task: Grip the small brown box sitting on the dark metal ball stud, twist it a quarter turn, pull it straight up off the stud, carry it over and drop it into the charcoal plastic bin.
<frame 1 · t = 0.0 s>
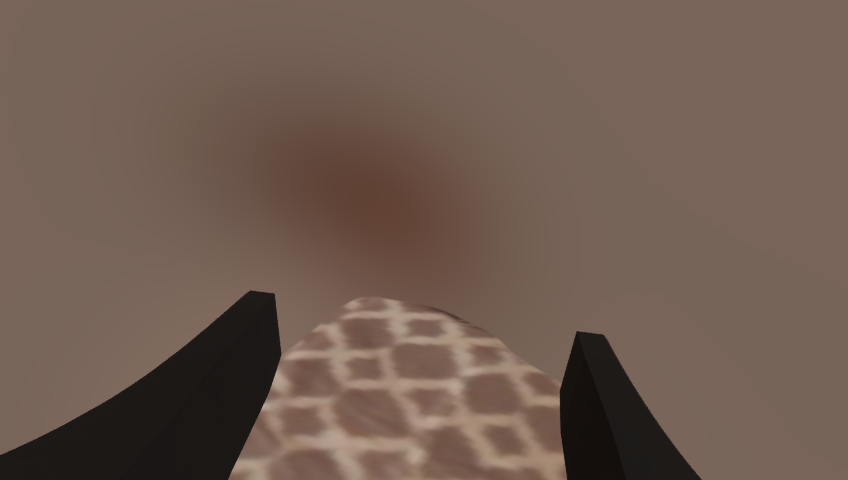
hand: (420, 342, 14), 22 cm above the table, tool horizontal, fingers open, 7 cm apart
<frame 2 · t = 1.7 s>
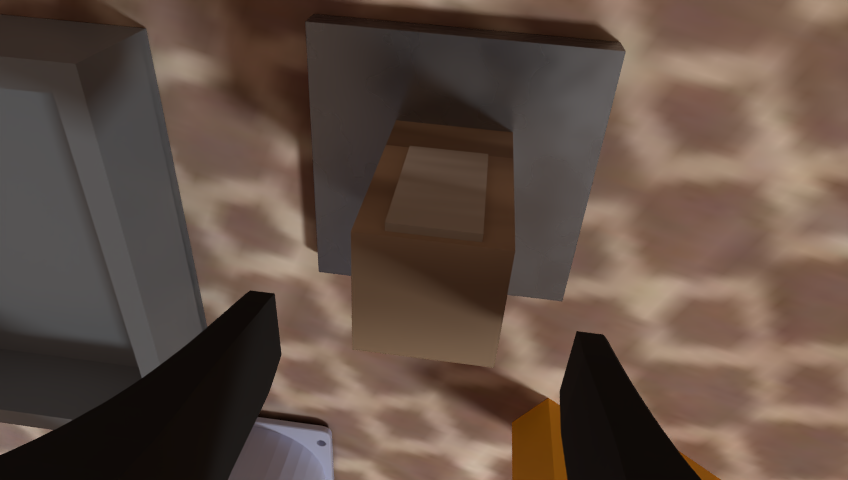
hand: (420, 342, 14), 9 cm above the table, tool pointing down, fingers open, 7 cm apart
small brown box: (449, 178, 21), point 1 cm above the table, touching stud plate
bin: (25, 221, 26), on the table
stud plate: (451, 165, 22), on the table
yellow u-shaped block: (626, 451, 30), on the table
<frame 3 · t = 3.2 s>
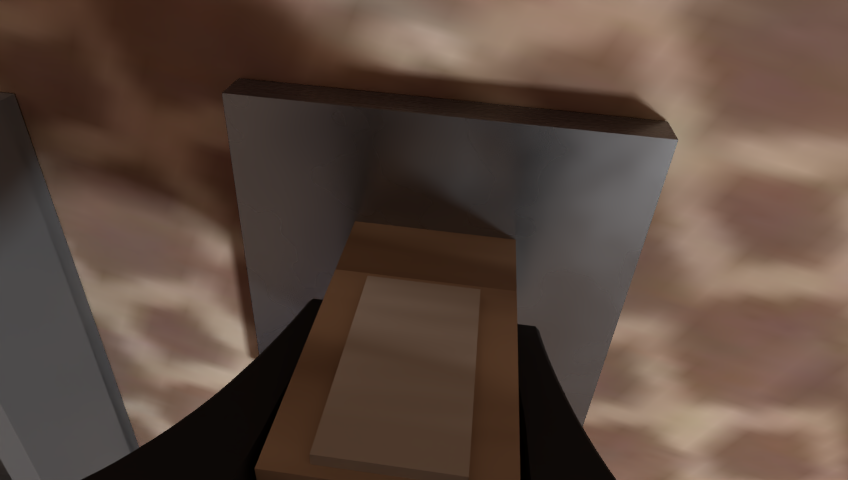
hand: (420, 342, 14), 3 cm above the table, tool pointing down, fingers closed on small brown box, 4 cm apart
small brown box: (429, 292, 16), point 1 cm above the table, touching gripper, stud plate
stud plate: (433, 270, 16), on the table
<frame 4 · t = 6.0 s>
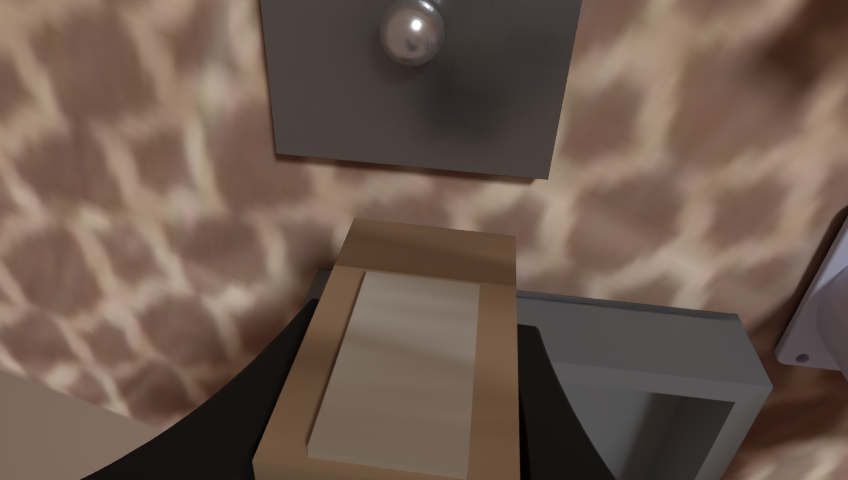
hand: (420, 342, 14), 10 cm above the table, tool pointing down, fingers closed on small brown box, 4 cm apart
small brown box: (429, 290, 15), point 8 cm above the table, touching gripper
bin: (501, 405, 29), on the table
stud plate: (419, 17, 19), on the table
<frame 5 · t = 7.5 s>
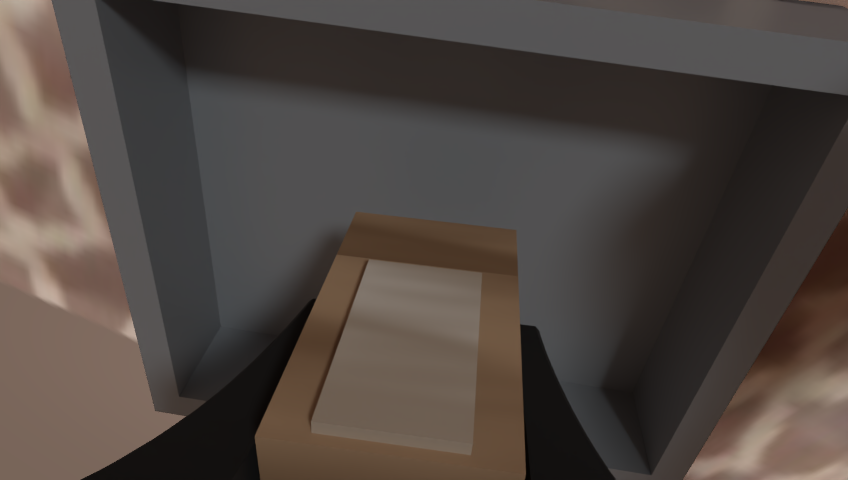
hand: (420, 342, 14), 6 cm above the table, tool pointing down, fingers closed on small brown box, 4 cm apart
small brown box: (429, 285, 15), point 4 cm above the table, touching gripper
bin: (445, 209, 19), on the table
when the fingers open (5 cm above the table, at t = 8.6 s): small brown box drops 2 cm, resting on bin.
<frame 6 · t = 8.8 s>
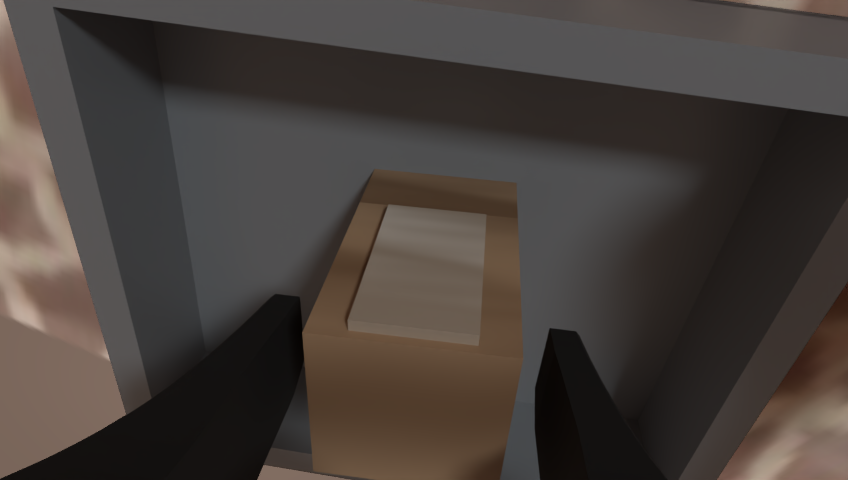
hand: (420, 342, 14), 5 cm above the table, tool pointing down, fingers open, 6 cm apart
small brown box: (440, 236, 17), point 1 cm above the table, touching bin
bin: (440, 231, 18), on the table
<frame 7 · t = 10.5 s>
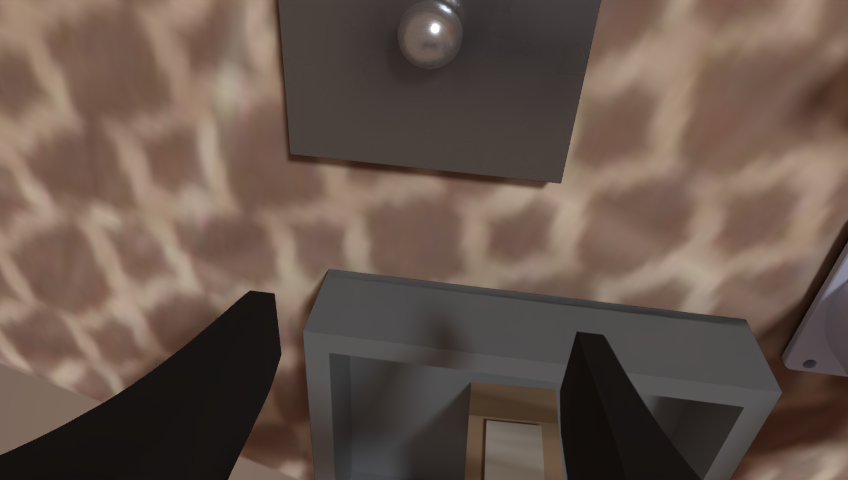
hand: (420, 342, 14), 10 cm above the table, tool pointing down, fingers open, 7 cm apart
small brown box: (509, 413, 29), resting on bin
bin: (508, 407, 29), on the table
stud plate: (436, 20, 19), on the table
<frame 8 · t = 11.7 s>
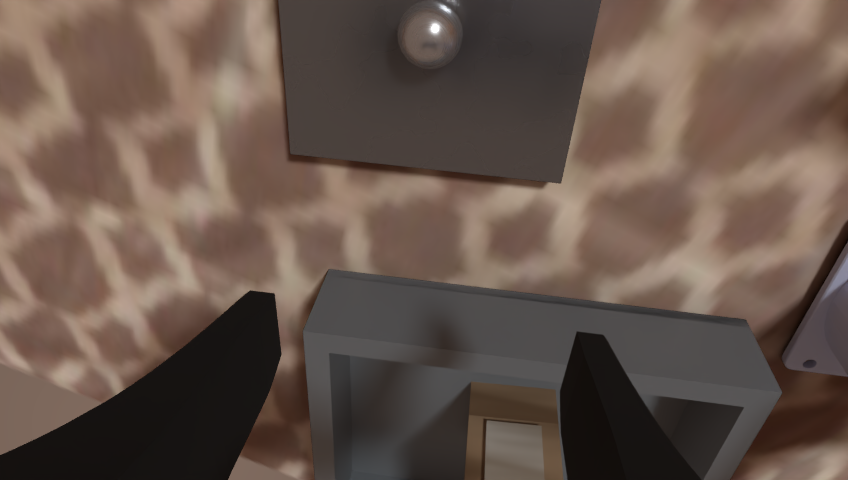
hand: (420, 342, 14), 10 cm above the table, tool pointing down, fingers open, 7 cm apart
small brown box: (509, 413, 29), resting on bin
bin: (508, 407, 29), on the table
stud plate: (436, 20, 19), on the table
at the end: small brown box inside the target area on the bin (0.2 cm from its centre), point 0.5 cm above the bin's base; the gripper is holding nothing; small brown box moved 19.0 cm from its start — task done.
